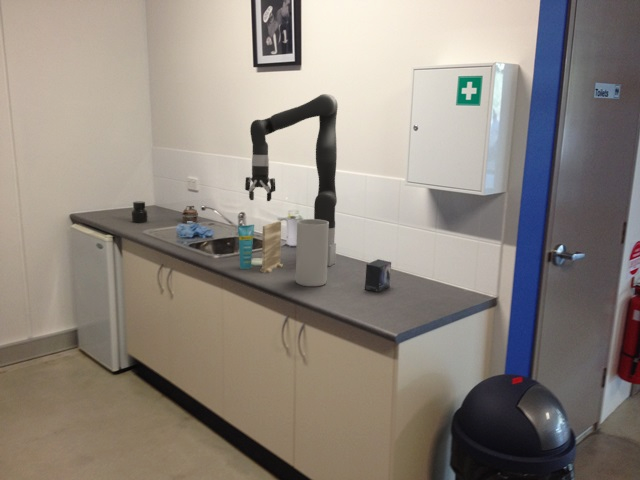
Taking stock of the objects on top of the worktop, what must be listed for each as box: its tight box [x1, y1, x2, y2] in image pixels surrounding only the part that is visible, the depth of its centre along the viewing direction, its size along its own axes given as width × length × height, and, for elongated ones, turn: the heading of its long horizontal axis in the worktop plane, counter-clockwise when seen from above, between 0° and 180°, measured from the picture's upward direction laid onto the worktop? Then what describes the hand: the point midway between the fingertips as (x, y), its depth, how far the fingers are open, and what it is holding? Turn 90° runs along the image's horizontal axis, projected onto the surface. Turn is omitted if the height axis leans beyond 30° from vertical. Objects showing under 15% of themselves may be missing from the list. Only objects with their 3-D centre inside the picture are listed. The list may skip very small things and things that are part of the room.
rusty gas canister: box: [181, 205, 199, 224], centre depth 349 cm, size 10×10×10 cm
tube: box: [237, 224, 255, 270], centre depth 249 cm, size 7×5×19 cm, turn 123°
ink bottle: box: [131, 200, 148, 224], centre depth 345 cm, size 10×9×12 cm
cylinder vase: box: [295, 218, 329, 287], centre depth 230 cm, size 12×12×25 cm
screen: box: [259, 220, 284, 274], centre depth 249 cm, size 5×14×20 cm, turn 155°
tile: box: [251, 257, 262, 267], centre depth 261 cm, size 11×11×1 cm
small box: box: [364, 259, 392, 293], centre depth 227 cm, size 11×6×10 cm, turn 148°
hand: (260, 200), depth 262 cm, fingers open, 8 cm apart
